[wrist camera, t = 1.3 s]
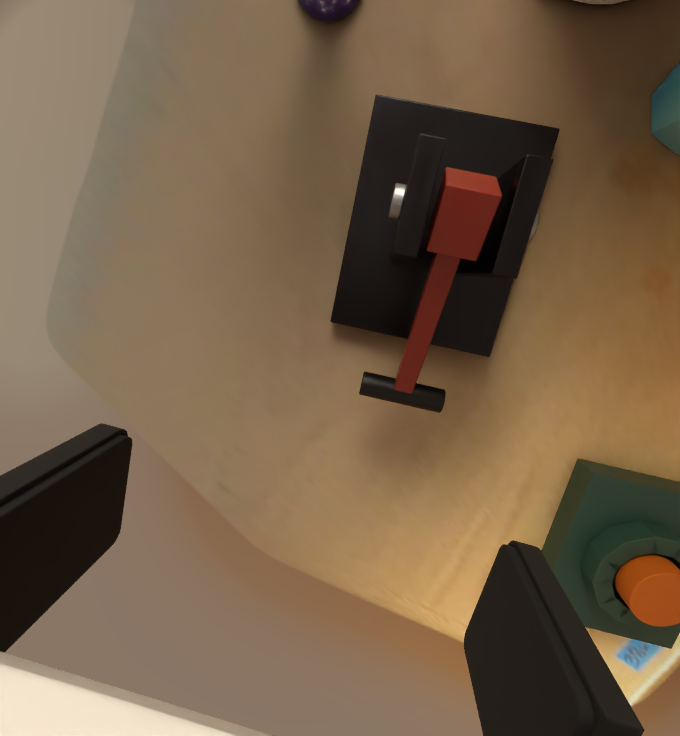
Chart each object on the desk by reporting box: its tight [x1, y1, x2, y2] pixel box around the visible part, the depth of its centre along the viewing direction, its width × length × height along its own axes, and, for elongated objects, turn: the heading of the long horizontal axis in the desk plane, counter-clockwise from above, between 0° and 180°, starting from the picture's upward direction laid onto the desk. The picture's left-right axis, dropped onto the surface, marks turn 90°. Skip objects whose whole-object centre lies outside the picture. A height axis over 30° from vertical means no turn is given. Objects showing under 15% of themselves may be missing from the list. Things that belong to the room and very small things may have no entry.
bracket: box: [331, 95, 559, 357], centre depth 21 cm, size 14×11×12 cm
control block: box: [542, 459, 680, 649], centre depth 29 cm, size 12×10×4 cm
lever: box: [359, 167, 502, 413], centre depth 21 cm, size 13×5×2 cm, turn 168°
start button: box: [615, 555, 680, 627], centre depth 26 cm, size 4×4×2 cm
